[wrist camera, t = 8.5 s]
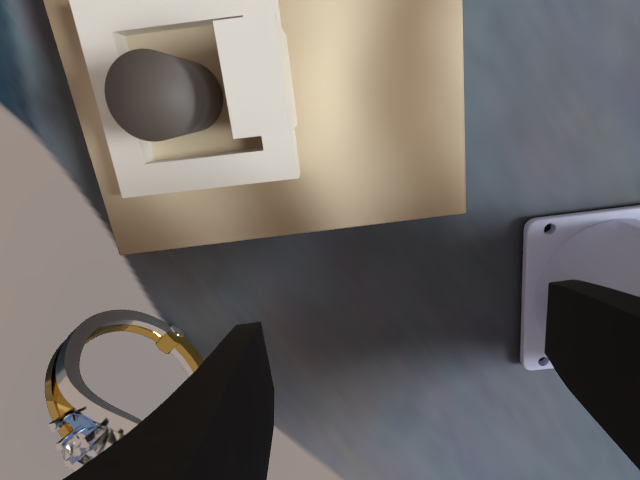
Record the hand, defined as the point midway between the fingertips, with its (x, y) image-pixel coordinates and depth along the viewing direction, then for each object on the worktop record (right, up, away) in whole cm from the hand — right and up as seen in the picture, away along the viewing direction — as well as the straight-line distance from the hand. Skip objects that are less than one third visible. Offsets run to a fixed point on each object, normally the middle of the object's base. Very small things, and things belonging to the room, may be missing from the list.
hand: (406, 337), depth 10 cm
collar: (-7, +8, +6) cm, 12 cm away
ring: (-10, -2, +11) cm, 15 cm away
